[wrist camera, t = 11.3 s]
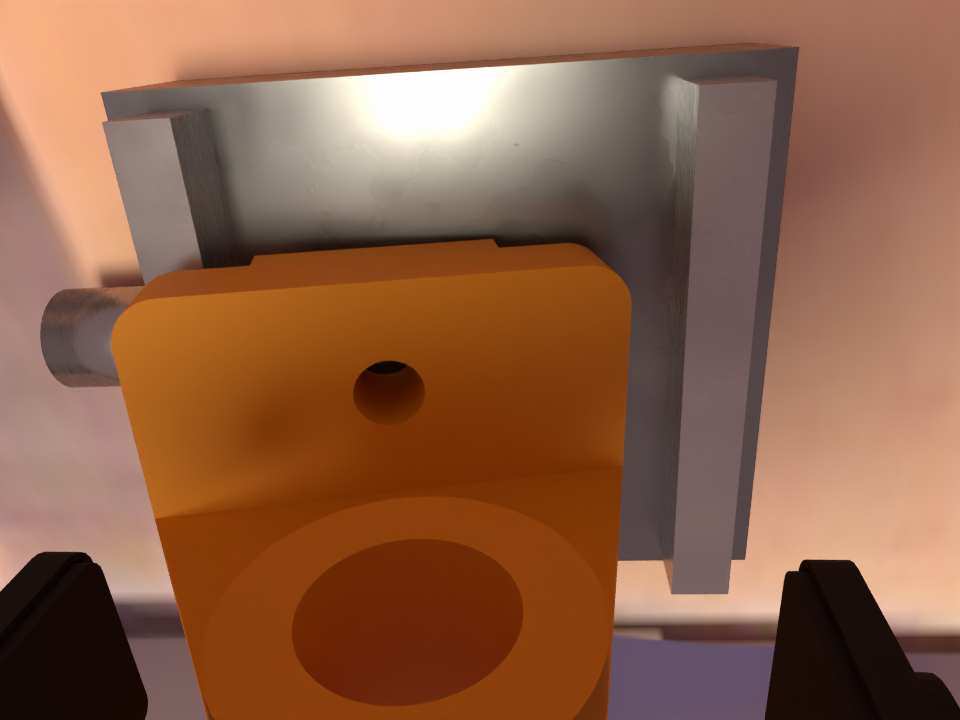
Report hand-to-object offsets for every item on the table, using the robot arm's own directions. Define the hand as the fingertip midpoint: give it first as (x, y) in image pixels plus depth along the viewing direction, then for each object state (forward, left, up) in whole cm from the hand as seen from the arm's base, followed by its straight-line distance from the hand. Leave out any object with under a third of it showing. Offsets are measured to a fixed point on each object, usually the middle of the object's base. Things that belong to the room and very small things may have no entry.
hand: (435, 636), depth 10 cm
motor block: (+3, 0, -14) cm, 15 cm away
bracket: (+2, +1, -9) cm, 10 cm away
